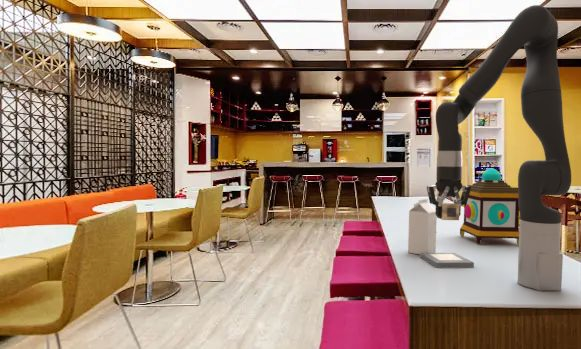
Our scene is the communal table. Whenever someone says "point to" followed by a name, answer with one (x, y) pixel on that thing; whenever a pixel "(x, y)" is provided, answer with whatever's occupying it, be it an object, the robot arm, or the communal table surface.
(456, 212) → the marked cube
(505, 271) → the communal table surface
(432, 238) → the milk carton
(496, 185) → the decorative lantern
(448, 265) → the slate board
